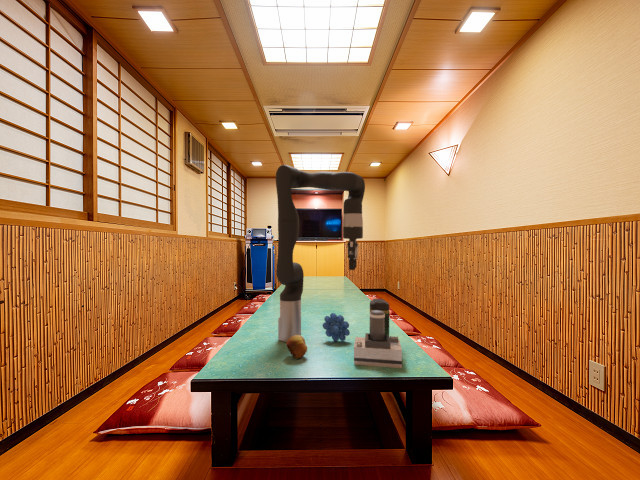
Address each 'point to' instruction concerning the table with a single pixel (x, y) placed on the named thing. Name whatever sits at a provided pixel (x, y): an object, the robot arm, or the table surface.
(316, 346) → the table surface
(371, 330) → the flashlight
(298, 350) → the fruit
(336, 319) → the grapes
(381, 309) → the coffee jar
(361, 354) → the box with square recess
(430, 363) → the table surface
